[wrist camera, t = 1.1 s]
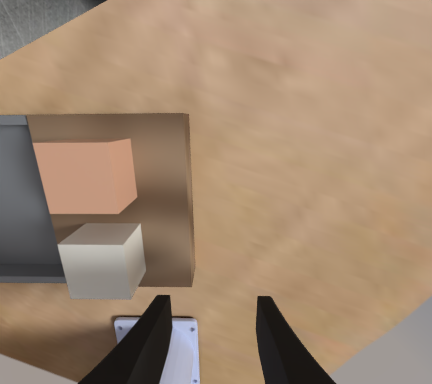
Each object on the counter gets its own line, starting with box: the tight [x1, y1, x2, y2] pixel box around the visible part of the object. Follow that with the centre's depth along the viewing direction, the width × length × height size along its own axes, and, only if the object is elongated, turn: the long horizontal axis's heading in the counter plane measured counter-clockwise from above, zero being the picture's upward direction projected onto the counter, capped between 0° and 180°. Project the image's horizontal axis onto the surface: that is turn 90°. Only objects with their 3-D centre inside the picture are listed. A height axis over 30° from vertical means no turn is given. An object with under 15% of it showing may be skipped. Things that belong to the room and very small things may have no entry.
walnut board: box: [26, 113, 195, 287], centre depth 17 cm, size 13×10×2 cm
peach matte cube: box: [33, 138, 137, 214], centre depth 14 cm, size 4×4×3 cm
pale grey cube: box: [58, 223, 146, 300], centre depth 16 cm, size 4×4×3 cm
